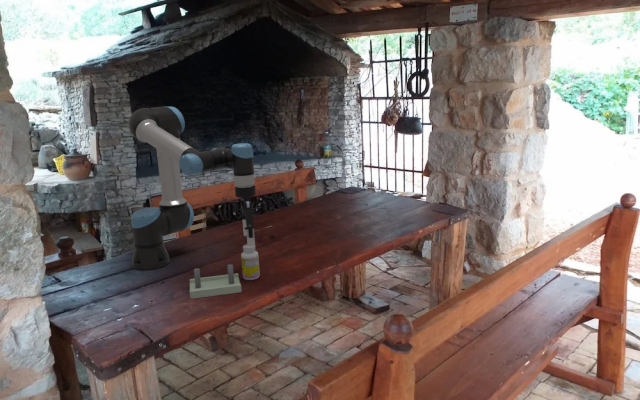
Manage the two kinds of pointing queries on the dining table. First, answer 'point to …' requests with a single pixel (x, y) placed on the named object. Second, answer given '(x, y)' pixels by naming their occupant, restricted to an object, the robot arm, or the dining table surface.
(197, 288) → the tray
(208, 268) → the dining table surface
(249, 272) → the supplement bottle
